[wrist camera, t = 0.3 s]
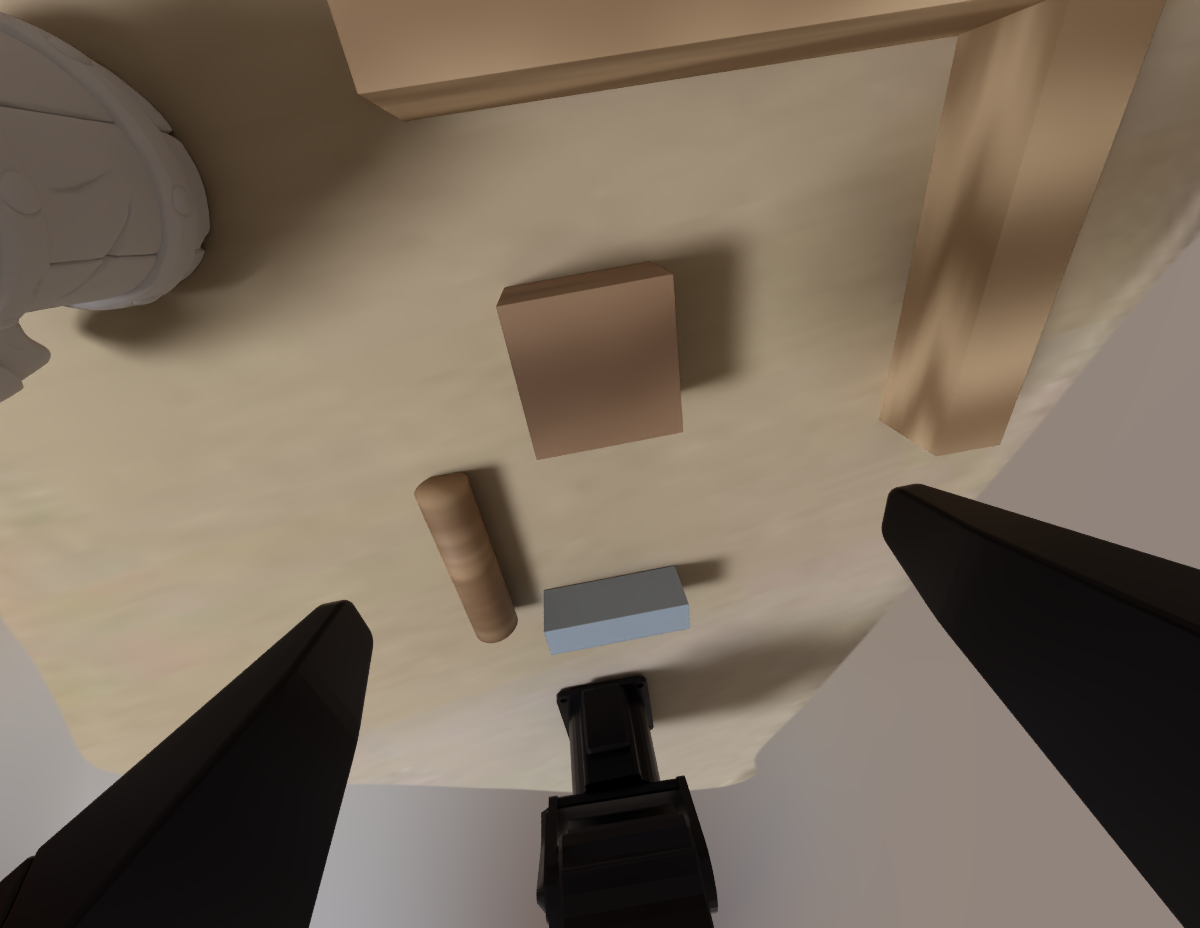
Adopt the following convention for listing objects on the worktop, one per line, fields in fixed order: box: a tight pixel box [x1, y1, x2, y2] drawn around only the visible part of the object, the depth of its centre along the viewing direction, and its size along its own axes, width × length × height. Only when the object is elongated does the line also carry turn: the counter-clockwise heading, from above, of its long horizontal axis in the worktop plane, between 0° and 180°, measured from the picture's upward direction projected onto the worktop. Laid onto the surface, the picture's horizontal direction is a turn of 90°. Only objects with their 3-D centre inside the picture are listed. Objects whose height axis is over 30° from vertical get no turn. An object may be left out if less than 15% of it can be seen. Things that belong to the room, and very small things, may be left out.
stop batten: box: [544, 566, 690, 655], centre depth 26 cm, size 2×8×3 cm, turn 98°
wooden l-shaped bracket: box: [327, 0, 1166, 456], centre depth 17 cm, size 18×22×4 cm
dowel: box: [414, 472, 518, 643], centre depth 24 cm, size 10×2×2 cm, turn 8°
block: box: [496, 261, 683, 460], centre depth 18 cm, size 6×6×4 cm
